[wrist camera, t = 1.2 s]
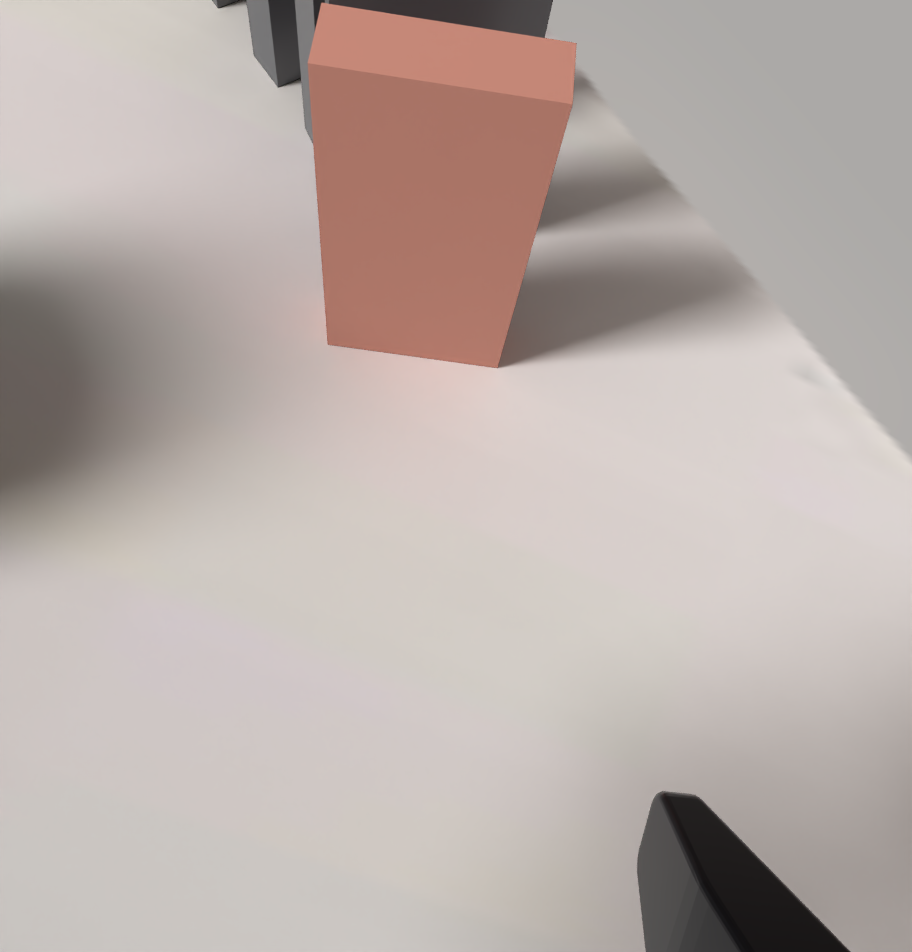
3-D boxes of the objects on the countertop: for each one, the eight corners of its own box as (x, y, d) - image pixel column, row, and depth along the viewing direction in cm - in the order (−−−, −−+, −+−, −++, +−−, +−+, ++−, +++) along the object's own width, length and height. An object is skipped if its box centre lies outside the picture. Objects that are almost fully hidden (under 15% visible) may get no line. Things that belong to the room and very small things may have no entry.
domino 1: (497, 368, 26) (572, 104, 16) (327, 344, 25) (307, 63, 16) (501, 321, 26) (576, 43, 17) (336, 298, 26) (321, 2, 17)
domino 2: (498, 240, 27) (566, -63, 18) (339, 249, 27) (326, -61, 17) (490, 199, 28) (553, -114, 19) (334, 207, 27) (319, -114, 18)
